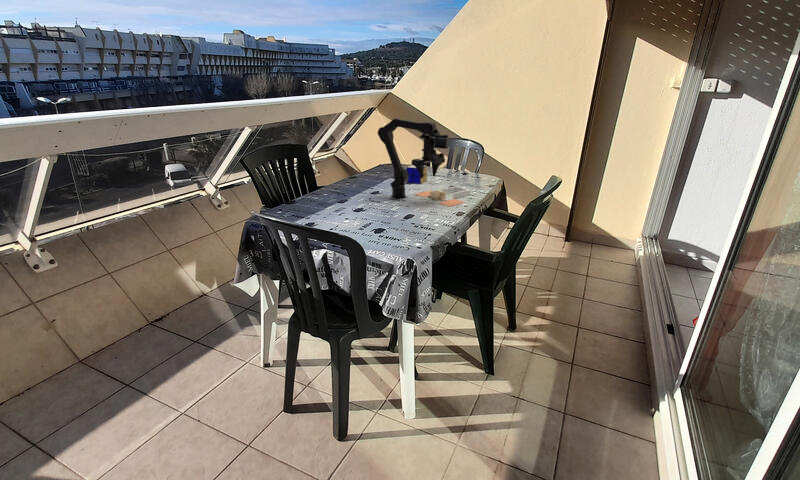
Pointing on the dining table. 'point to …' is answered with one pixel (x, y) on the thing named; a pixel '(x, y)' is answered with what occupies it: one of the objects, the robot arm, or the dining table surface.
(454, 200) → the mats
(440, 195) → the block
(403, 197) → the robot arm
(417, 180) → the puzzle cube
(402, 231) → the dining table surface
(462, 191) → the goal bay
